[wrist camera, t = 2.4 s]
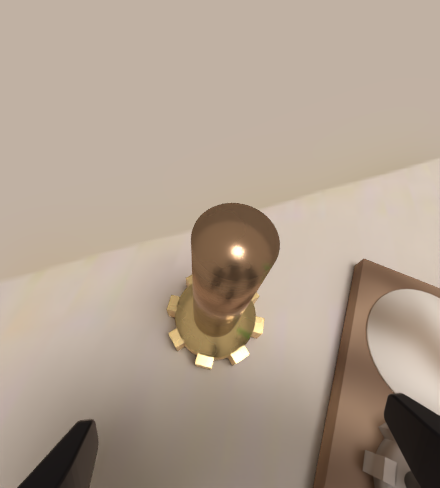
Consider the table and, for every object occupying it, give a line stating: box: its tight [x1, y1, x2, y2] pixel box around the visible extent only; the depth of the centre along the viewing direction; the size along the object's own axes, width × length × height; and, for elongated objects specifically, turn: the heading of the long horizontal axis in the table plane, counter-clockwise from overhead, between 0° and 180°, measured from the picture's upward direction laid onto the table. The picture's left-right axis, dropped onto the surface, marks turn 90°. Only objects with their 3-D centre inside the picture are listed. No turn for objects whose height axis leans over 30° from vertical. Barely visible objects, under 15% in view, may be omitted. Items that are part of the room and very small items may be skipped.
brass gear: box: [167, 203, 280, 370], centre depth 15 cm, size 7×7×13 cm
